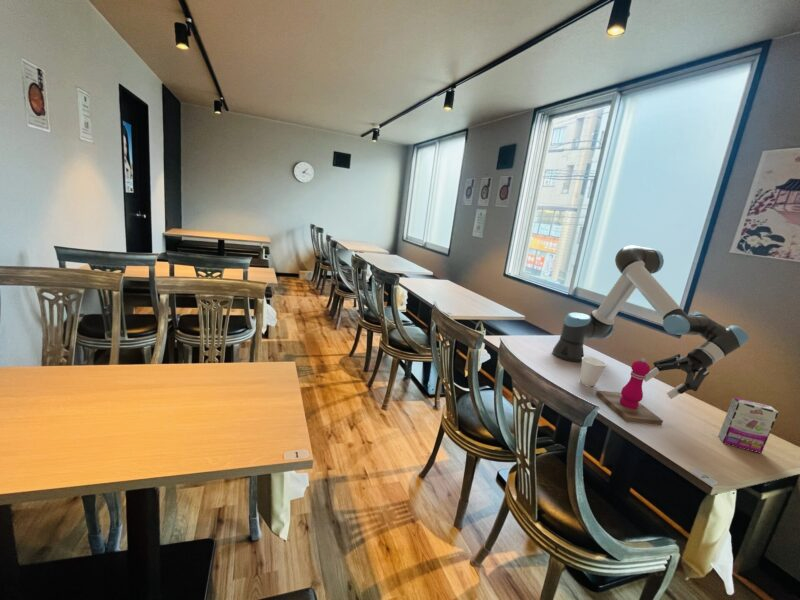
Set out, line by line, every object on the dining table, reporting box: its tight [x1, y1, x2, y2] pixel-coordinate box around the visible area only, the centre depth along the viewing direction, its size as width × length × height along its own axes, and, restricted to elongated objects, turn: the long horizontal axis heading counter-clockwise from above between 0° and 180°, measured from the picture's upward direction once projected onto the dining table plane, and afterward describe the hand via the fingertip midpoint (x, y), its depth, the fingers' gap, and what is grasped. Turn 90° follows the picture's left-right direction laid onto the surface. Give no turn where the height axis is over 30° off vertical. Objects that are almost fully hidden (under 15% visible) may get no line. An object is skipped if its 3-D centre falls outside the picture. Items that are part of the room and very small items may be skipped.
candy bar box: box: [717, 396, 780, 454], centre depth 129 cm, size 11×5×16 cm, turn 68°
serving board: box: [595, 389, 664, 426], centre depth 145 cm, size 20×14×2 cm
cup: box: [579, 356, 607, 387], centre depth 163 cm, size 10×10×11 cm
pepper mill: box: [620, 357, 651, 409], centre depth 143 cm, size 7×7×20 cm
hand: (655, 387), depth 143 cm, fingers open, 13 cm apart
